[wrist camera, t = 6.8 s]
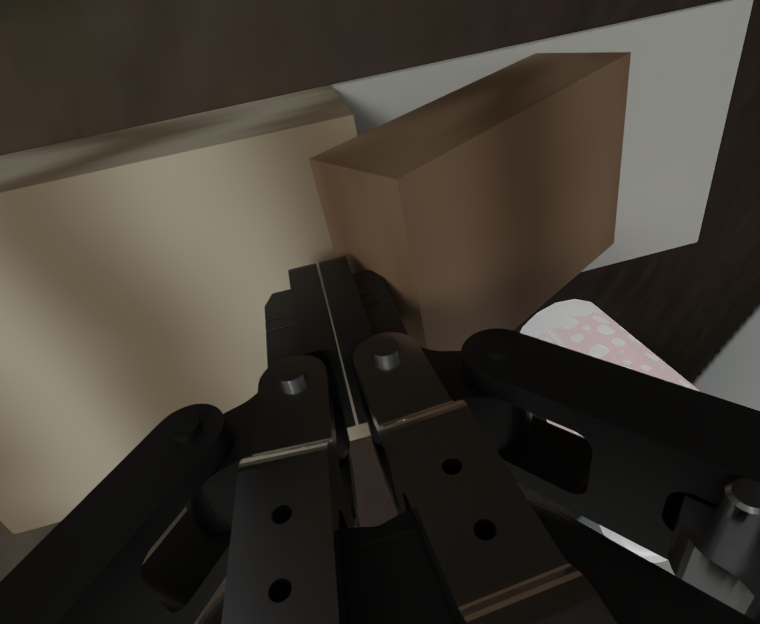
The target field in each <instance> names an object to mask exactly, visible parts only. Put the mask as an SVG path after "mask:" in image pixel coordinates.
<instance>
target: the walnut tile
mask: <svg viewBox="0 0 760 624" xmlns="http://www.w3.org/2000/svg"><path fill="white" fill-rule="evenodd" d="M630 58H631V52H592V53H535V54H533V55H531V56H529V57H526V58H524V59H522V60H520V61H518V62H516V63H513V64H511V65H509V66H507V67H505V68H503V69H501V70H498V71H496V72H494V73H492V74H490V75H488V76H486V77H483V78H481V79H479V80H477V81H475V82H473V83H471V84H468V85H466V86H464V87H462V88H460V89H458V90H456V91H453V92H451V93H449V94H447V95H445V96H443V97H440V98H438V99H436V100H434V101H432V102H430V103H428V104H425V105H423V106H421V107H419V108H417V109H415V110H413V111H410V112H408V113H406V114H404V115H402V116H400V117H398V118H395V119H393V120H391V121H389V122H387V123H385V124H382V125H380V126H378V127H376V128H374V129H372V130H370V131H367V132H365V133H363V134H361V135H359V136H357V137H355V138H352V139H350V140H348V141H346V142H344V143H342V144H340V145H337V146H335V147H333V148H331V149H329V150H327V151H324V152H322V153H320V154H318V155H316V156H314V157H312V158H309V162H310V166H311V169H312V173H313V177H314V180H315V184H316V187H317V191H318V195H319V198H320V202H321V205H322V209H323V213H324V216H325V220H326V224H327V227H328V231H329V234H330V238H331V242H332V245H333V249H334V252H335V256H336V258H339V257H343V256H346V258H347V261H348V263H349V266H350V269H351V272H352V274H354V273H358V272H362V271H367V270H371V271H373V272H375V273H376V274H378V275H380V276H381V277H383V279H384V281H385V284H386V286H387V288H388V291H389V293H390V295H391V297H392V300H393V302H394V304H395V306H396V309H397V311H398V313H399V315H400V318H401V320H402V322H403V324H404V327H405V329H406V331H407V333H408V335H409V336H411V337H412V338H414V339H415V340H416V341H417V343H418V344H419V346H421V347H423V348H426V349H430V350H435V351H461V350H462V346H463V344H464V342H465V341H466V340H467V339H468V338H469V337H470V336H471V335H473V334H475V333H477V332H479V331H482V330H486V329H494V328H501V329H509V330H514V329H515V328H516V327H518V326H519V325H520V324H521V323H522V322H523V321H525V320H526V319H527V318H528V317H529V316H530V315H531V314H533V313H534V312H535V311H536V310H537V309H538V308H540V307H541V306H542V305H543V304H544V303H545V302H546V301H548V300H549V299H550V298H551V297H552V296H553V295H555V294H556V293H557V292H558V291H559V290H560V289H562V288H563V287H564V286H565V285H566V284H567V283H568V282H570V281H571V280H572V279H573V278H574V277H575V276H577V275H578V274H579V273H580V272H581V271H582V270H584V269H585V268H586V267H587V266H588V265H589V264H590V263H592V262H593V261H594V260H595V259H596V258H597V257H599V256H600V255H601V254H602V253H603V252H604V251H605V250H607V249H608V248H609V247H610V246H611V245H612V244H614V236H615V225H616V214H617V202H618V191H619V180H620V169H621V158H622V147H623V136H624V124H625V113H626V102H627V91H628V80H629V69H630Z"/></svg>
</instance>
